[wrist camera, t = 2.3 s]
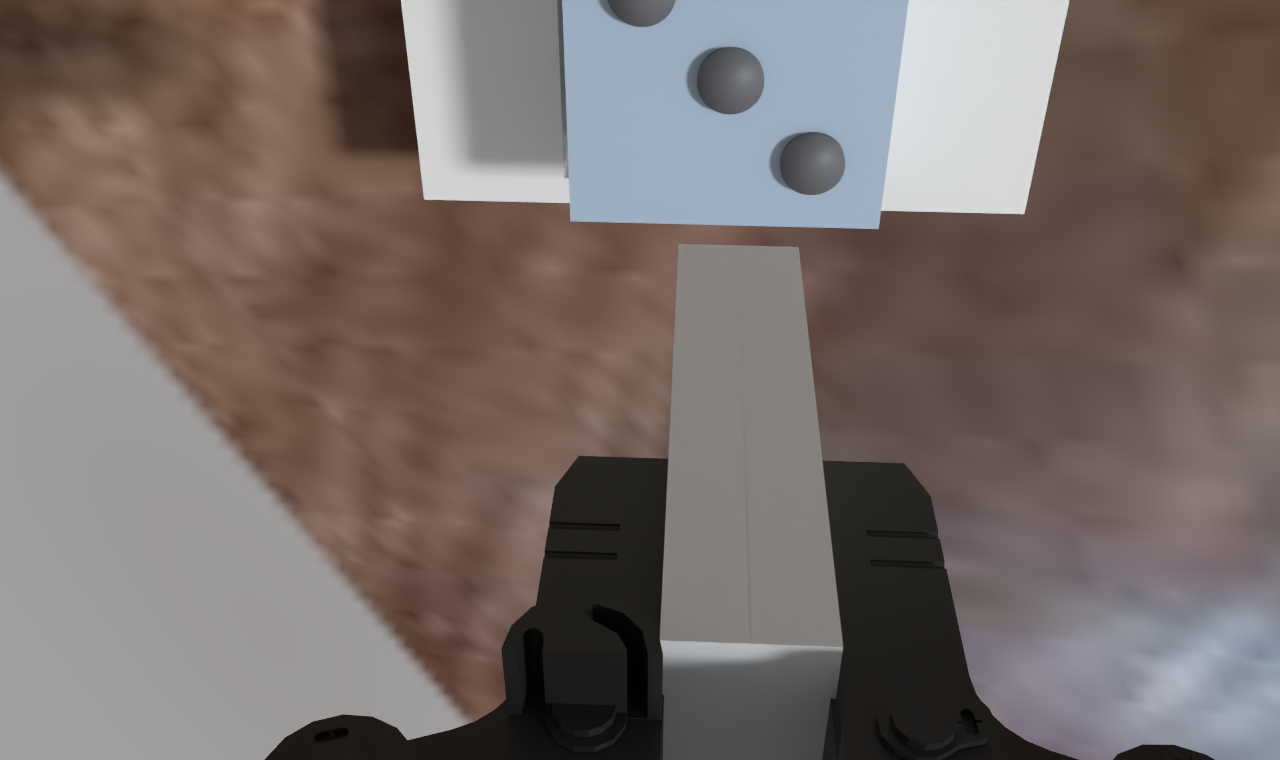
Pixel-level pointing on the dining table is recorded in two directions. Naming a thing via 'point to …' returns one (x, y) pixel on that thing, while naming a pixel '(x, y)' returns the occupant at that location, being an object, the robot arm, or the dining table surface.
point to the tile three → (731, 110)
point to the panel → (921, 130)
